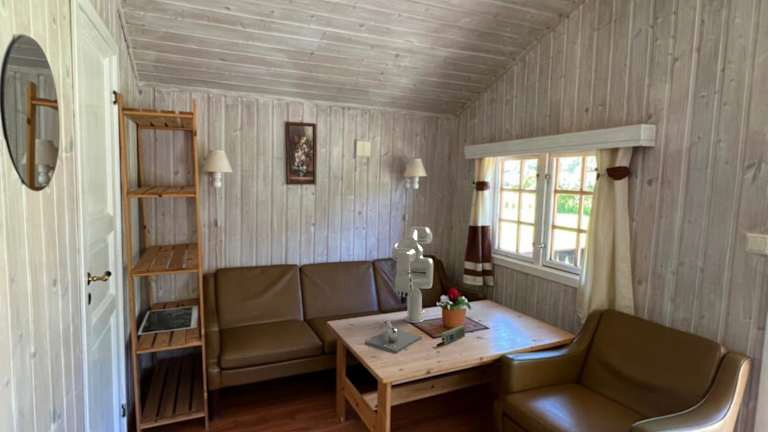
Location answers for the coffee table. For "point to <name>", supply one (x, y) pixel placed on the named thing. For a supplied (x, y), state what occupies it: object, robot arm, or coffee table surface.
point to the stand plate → (402, 342)
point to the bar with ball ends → (391, 332)
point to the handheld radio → (452, 335)
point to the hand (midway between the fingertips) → (403, 303)
